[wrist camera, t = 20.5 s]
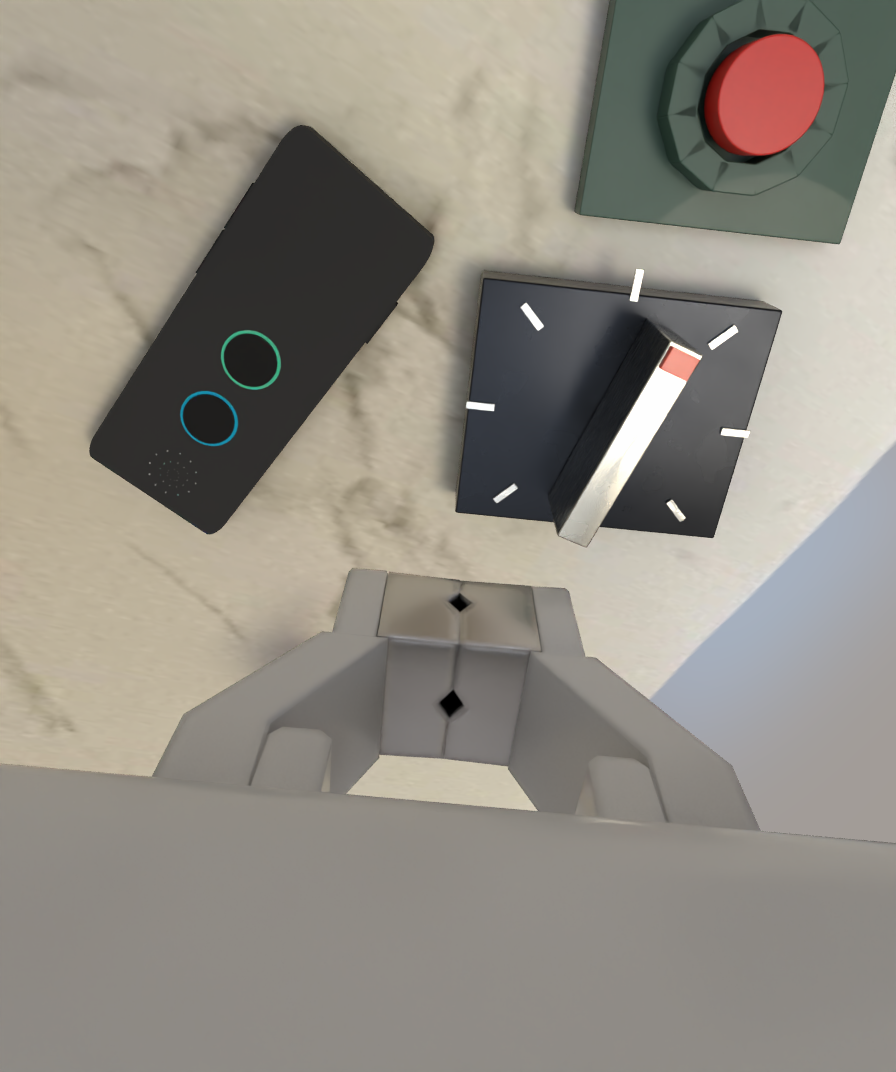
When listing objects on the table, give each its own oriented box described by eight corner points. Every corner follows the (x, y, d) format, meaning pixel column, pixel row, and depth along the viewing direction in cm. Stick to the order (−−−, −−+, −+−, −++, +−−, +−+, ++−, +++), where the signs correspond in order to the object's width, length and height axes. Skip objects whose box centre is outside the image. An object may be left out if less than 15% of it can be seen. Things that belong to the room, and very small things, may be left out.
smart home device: (79, 452, 39) (292, 114, 31) (94, 440, 40) (300, 116, 33) (214, 541, 41) (442, 247, 34) (223, 528, 42) (443, 243, 35)
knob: (574, 508, 39) (587, 551, 34) (547, 496, 38) (557, 538, 34) (676, 332, 34) (706, 357, 30) (646, 318, 34) (672, 341, 30)
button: (692, 149, 30) (705, 149, 29) (718, 34, 29) (734, 27, 27) (786, 160, 31) (805, 161, 29) (818, 46, 29) (840, 40, 27)
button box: (574, 212, 34) (585, 218, 31) (618, -55, 30) (636, -79, 27) (824, 240, 35) (859, 248, 32) (905, -18, 30) (956, -38, 27)
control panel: (451, 511, 42) (451, 532, 39) (482, 245, 35) (484, 252, 33) (697, 535, 42) (711, 558, 40) (772, 278, 36) (794, 286, 33)
